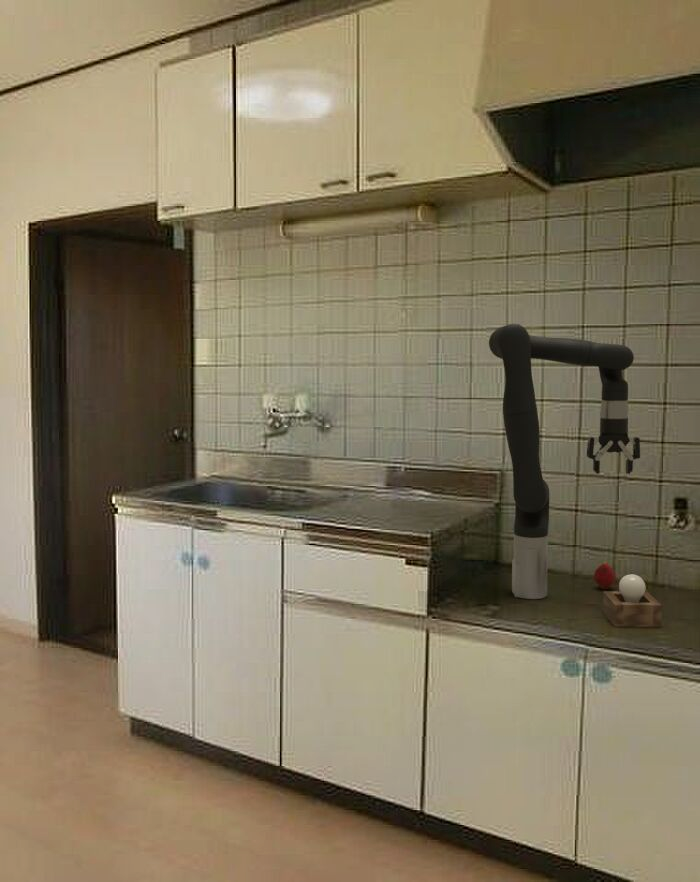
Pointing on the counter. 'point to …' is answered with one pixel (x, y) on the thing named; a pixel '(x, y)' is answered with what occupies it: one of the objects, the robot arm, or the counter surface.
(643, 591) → the lightbulb
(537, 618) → the counter surface
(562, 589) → the counter surface
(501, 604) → the counter surface
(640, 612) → the socket block
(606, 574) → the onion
